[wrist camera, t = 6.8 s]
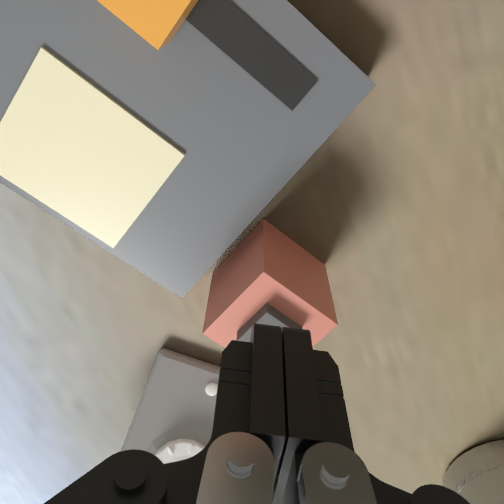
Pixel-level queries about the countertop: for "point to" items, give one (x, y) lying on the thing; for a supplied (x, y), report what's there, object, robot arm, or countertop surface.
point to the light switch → (175, 408)
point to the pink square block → (268, 289)
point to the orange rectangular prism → (152, 17)
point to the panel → (165, 122)
